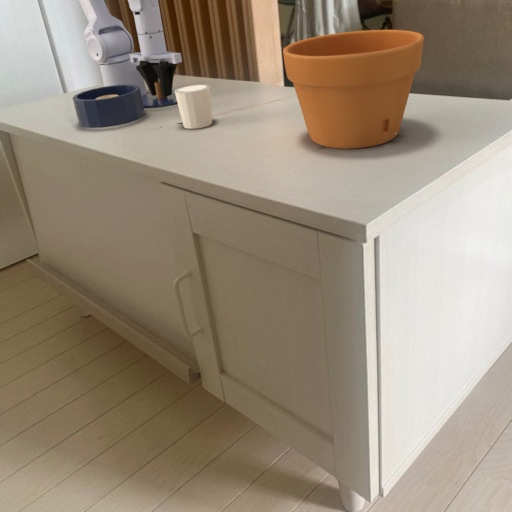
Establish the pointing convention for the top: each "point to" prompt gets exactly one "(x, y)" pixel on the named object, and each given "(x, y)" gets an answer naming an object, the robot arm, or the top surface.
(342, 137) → the flower pot
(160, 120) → the top surface
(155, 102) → the pot lid
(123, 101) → the pot
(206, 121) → the white cup
